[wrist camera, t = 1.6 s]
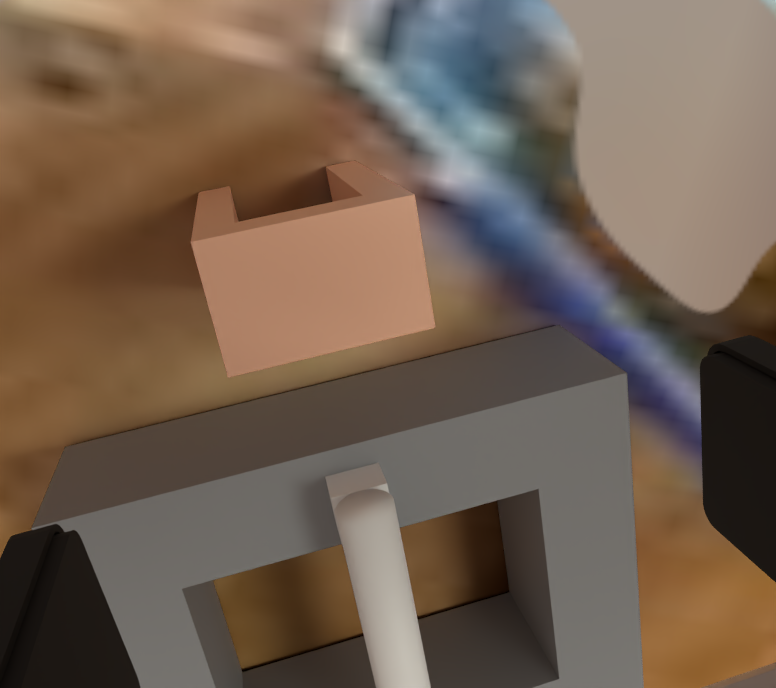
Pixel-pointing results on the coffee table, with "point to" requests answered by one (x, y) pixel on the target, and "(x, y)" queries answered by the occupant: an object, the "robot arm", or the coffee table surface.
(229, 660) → the grey rectangular frame
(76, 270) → the coffee table surface
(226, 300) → the clip
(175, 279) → the coffee table surface
